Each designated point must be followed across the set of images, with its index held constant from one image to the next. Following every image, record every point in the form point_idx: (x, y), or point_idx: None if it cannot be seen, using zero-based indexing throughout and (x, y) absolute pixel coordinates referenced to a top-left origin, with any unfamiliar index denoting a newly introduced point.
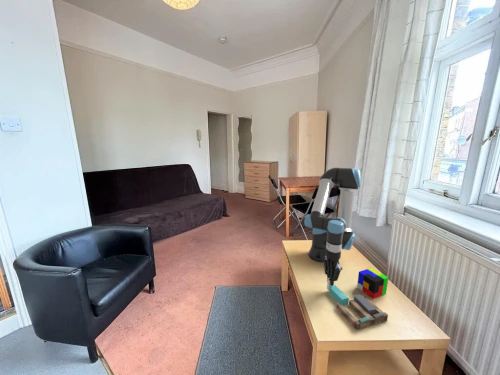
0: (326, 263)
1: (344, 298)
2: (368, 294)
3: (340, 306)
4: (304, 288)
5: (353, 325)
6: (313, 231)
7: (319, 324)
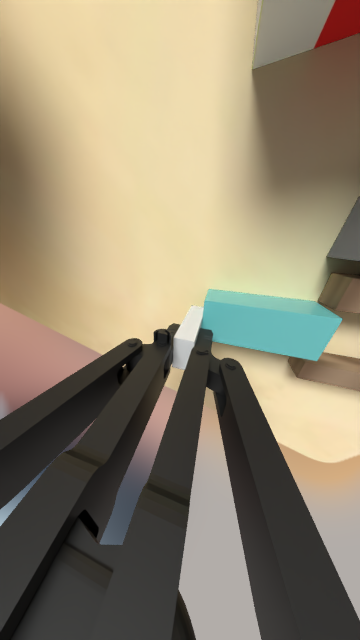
0: (44, 455)
1: (322, 345)
2: None
3: (322, 378)
4: None
5: None
6: None
7: (296, 438)
